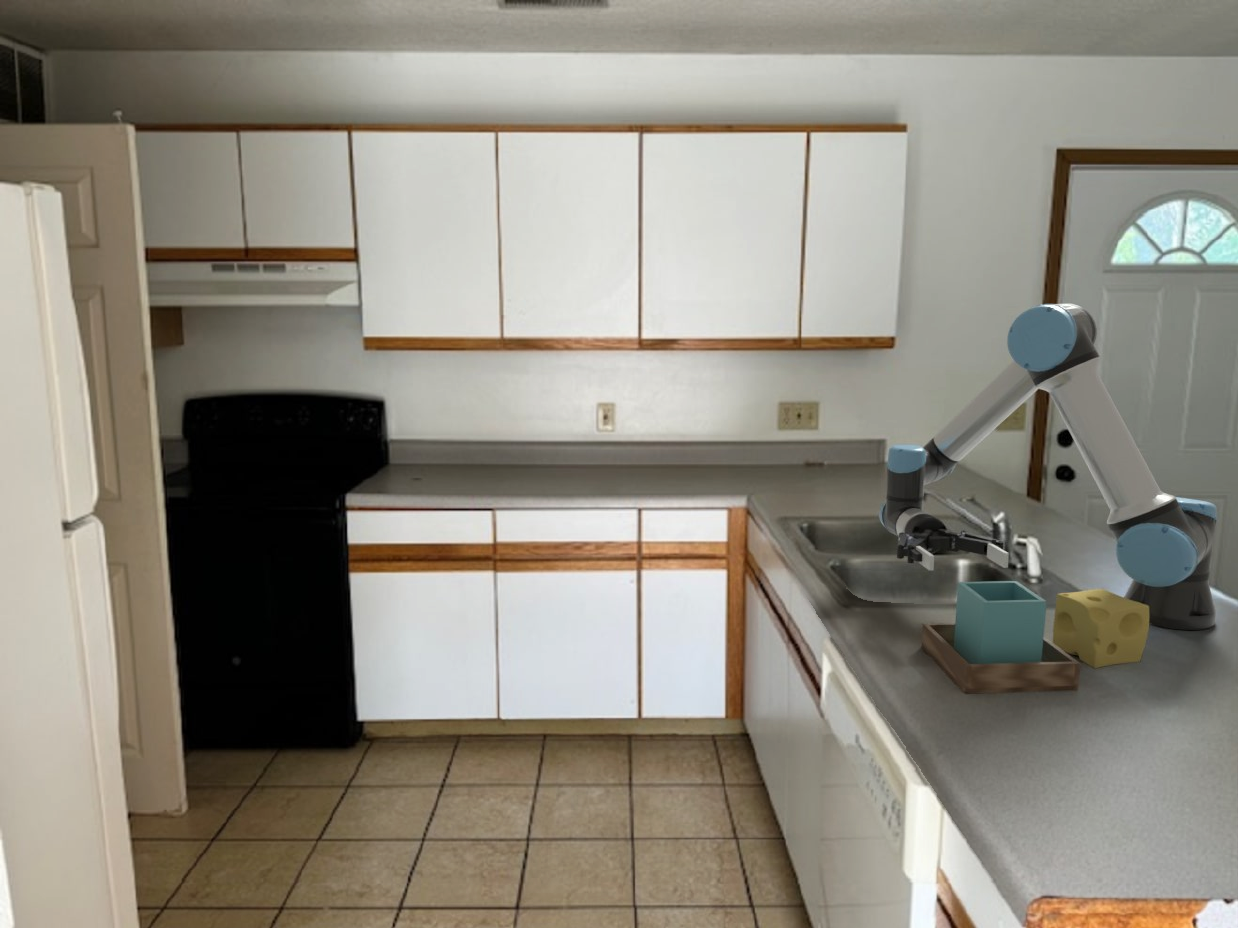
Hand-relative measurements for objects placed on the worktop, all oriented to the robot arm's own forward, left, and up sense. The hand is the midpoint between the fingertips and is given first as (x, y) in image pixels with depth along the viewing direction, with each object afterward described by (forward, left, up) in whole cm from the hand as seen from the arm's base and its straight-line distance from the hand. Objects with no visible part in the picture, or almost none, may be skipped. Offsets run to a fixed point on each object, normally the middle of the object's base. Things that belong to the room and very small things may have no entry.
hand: (969, 561), depth 160 cm
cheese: (-21, -5, -14) cm, 26 cm away
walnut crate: (-8, +11, -14) cm, 20 cm away
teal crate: (-8, +11, -13) cm, 19 cm away
